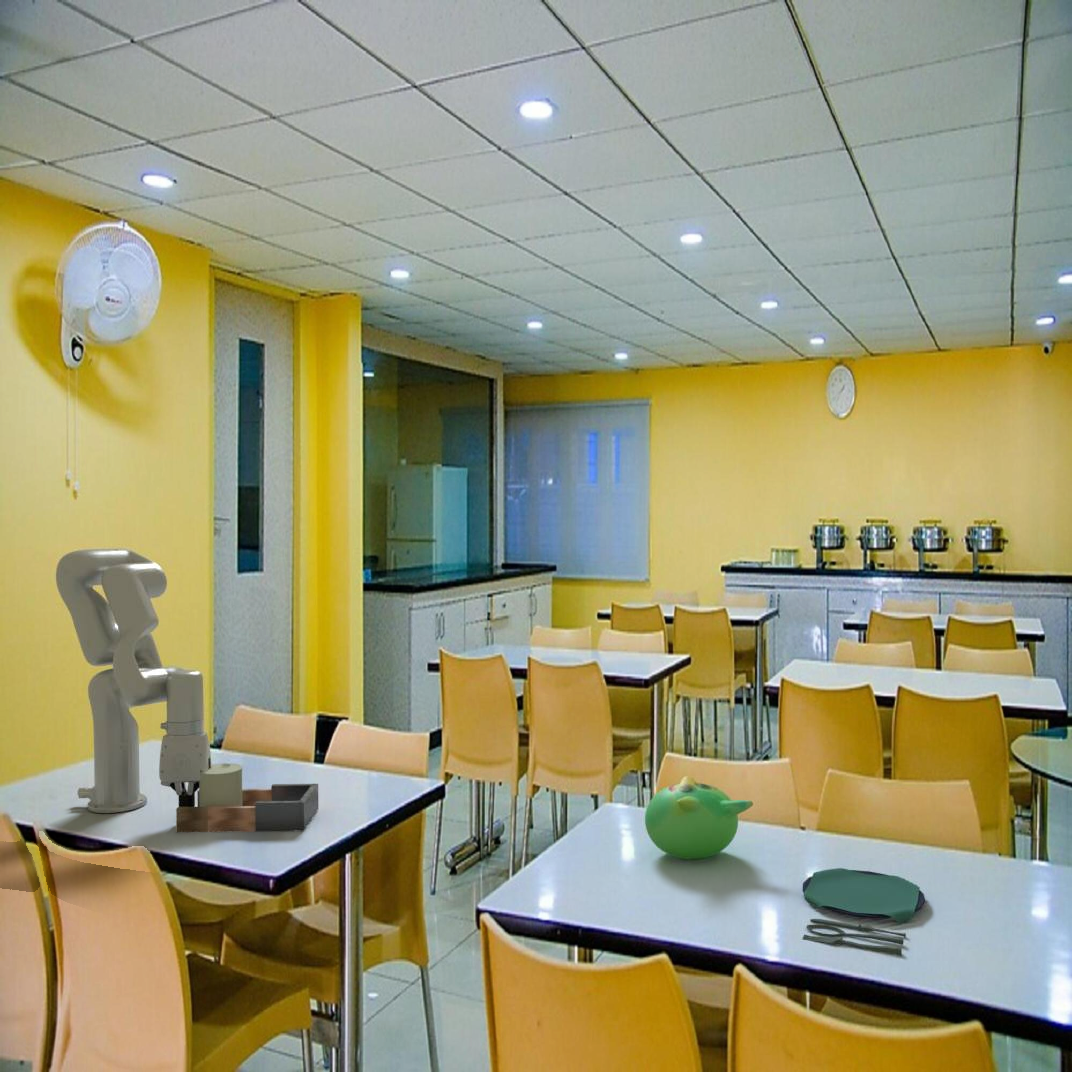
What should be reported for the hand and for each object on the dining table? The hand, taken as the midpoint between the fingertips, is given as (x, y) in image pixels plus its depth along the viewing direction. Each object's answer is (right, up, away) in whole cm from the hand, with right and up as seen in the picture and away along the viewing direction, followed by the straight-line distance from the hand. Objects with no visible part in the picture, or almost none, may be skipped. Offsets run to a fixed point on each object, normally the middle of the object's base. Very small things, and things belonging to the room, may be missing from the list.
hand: (186, 811), depth 209 cm
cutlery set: (+129, -3, -50) cm, 139 cm away
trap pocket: (+22, -2, +1) cm, 22 cm away
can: (+7, -2, 0) cm, 8 cm away
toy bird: (+106, -2, -24) cm, 109 cm away
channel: (+9, -2, 0) cm, 9 cm away
